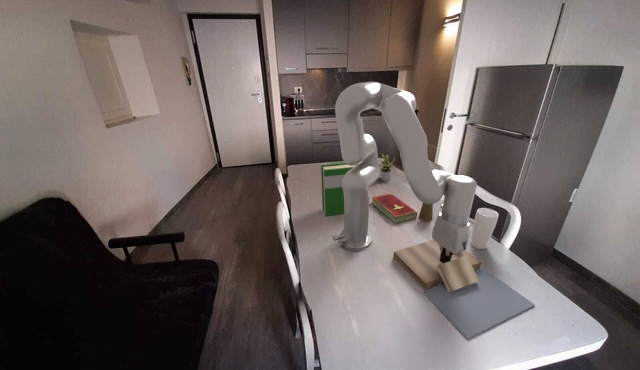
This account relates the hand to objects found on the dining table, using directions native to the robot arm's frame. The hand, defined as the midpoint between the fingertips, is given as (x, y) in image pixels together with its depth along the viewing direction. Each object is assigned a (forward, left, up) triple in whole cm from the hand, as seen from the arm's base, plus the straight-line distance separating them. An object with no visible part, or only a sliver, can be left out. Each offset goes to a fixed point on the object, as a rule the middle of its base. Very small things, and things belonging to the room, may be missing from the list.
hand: (444, 261), depth 84 cm
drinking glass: (+22, +5, -4) cm, 23 cm away
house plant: (+27, +76, -4) cm, 80 cm away
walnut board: (0, +4, -4) cm, 5 cm away
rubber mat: (0, -13, -4) cm, 14 cm away
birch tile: (0, -5, -1) cm, 5 cm away
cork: (+18, +29, -4) cm, 34 cm away
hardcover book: (+9, +41, -4) cm, 42 cm away
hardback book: (-15, +51, -4) cm, 53 cm away
